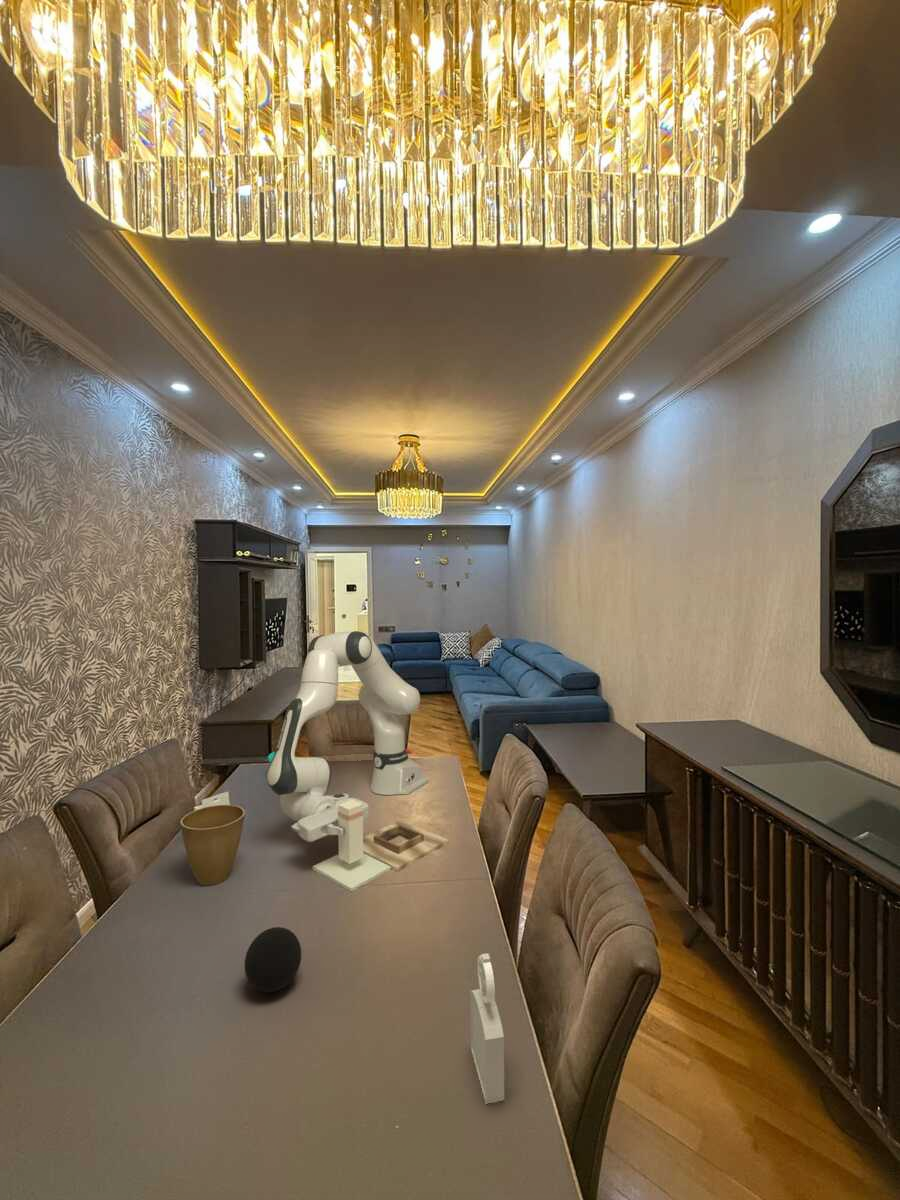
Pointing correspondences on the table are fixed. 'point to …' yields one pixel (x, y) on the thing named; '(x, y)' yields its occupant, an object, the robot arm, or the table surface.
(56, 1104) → the table surface
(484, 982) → the grey block with loop
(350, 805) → the banded cream pillar
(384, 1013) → the table surface
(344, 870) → the pad
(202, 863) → the plant pot
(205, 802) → the ink cartridge box
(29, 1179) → the table surface
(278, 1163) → the table surface
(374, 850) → the wooden square socket board
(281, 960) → the decorative ball
